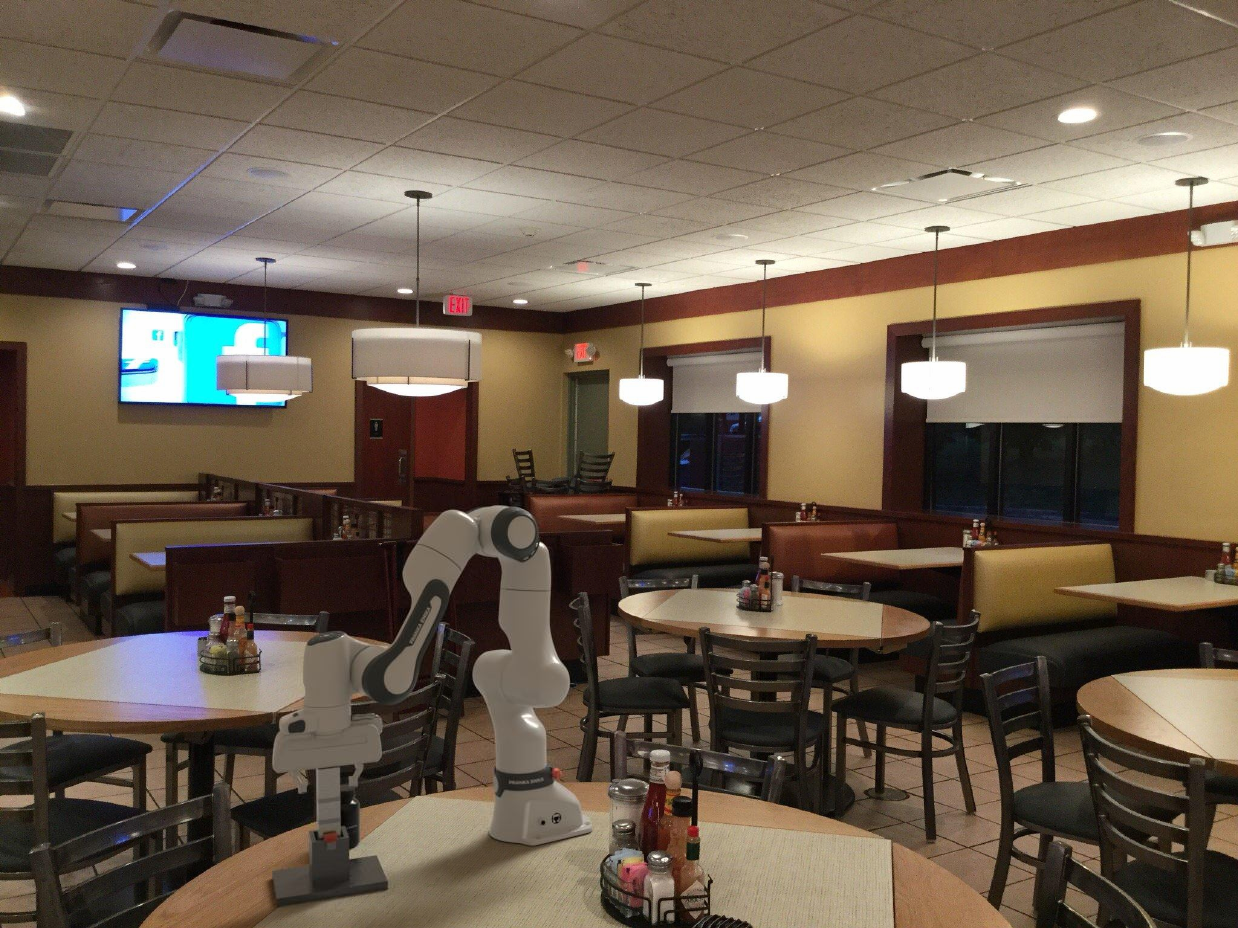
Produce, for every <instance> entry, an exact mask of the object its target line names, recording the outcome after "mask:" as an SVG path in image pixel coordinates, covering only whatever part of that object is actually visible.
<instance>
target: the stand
mask: <svg viewBox="0 0 1238 928" xmlns="http://www.w3.org/2000/svg"><path fill="white" fill-rule="evenodd" d="M308 861H309V862H308V865H301V866H296V867H288V868H283V869H282V868H281V869H276V870H272V872H271V874H272V884H273V891H274V898H275V907H277V908H278V907H285V906H291V905H297V904H303V903H311V902H316V901H321V900H322V901H323V900H328V899H334V898H341V897H347V896H352V895H359V894H364V893H370V892H372V893H373V892H377V891H383V890H388V889H389V887H388V886H389V881H388V879H387V876H386V873H385V871H384V869H383V867H382V864H381V863H380V860H379V858H378V855H377V854H375V855H369V856H368V855H367V856H362V857H355V858H350V848H349V836H348V833H347V831H346V828H345V826H341V837H339V838H337V833H330V834H324V840H318V841H317V829H313V830H308Z"/></svg>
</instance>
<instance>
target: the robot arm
mask: <svg viewBox="0 0 1238 928" xmlns="http://www.w3.org/2000/svg"><path fill="white" fill-rule="evenodd" d="M539 533H540V532H539V527H538V524H537V521H536V519H535V517H534V516H533V515H532V514H531V513H530V512H529V511H527V510H525V509H523V508H521V507H518V506H507V505H492V506H479V507H478V506H477V507H475V508H472V509H470V510H468V511H466V512H464V511H461V510H458V509H449V510H446V511H443V512H441V513H440V515H438V516H437V518H435V520H434V521H433V522H432V523H431V524H430V525H429V527H428V528H427V529H426V530H425V531H424V532H423V534H422V535H421V537H420V538H419V539H418V540H417V541H418V542H417V543H416V544H415V546H414V548H413V549H412V550H411V552H410V553H409V555H408V557H407V559H406V561H405V564H404V565H403V570H402V579H403V582H404V585H405V588H406V590H407V591H408V592H409V594H410V597H411V605H410V609H409V612H408V614H407V615H406V618H405V620H404V621H403V624H402V625H401V627H400V629H399V632H398V634H397V635H396V637H395V638H394V641H393V642H392V643H391V644H390V646H388V647H386V648H384V647H382V646H379V645H376V644H371V643H368V642H364V641H361V640H359V639H356V638H354V637H351V636H350V635H348V634H347V633H346V632H344V631H341V630H333V631H325V632H322V633H319V634H316V635H315V636H314V635H313V637H311V638H310V639H309V640H308V641H307V642H306V645H305V648H304V655H303V662H302V663H303V665H302V682H303V686H304V689H305V690H304V691H305V692H304V698H303V700H302V701H303V702H302V703H303V705H302V708H301V709H298V710H295V711H293V712H291V713H288V714H286V715H283V716H281V718H279V721H278V727H279V731H278V732H277V734H276V736H275V738H274V742H273V749H272V759H271V760H272V761H271V762H272V769H273V770H274V771H275V772H276V773H277V774H283V773H290V772H291V776H292V779H294V782H295V783H296V784H297V788H298V794H300V795H303V794H307V793H308V790H307V788H308V783H307V781H302V780H301V778H300V776H301V771H307V770H308V771H309V770H316V769H318V768H327V767H335V766H339V767H341V766H342V767H343V766H349V765H350V766H351V765H354V767H355V771H354V773H353V775H351V776H348V785H349V786H350V787H355V788H358V786H359V785H358V783H359V781H358V779H359V778H360V776H361V774H362V772H363V771H364V764H368V763H377V762H379V761H380V759H381V758H382V756H383V752H382V742H381V736H380V735H381V733H383V719H382V717H380V716H379V715H378V714H375V713H373V712H370V713H365V714H359V713H358V714H352V696H353V695H354V694H361V695H363V696H366V697H368V698H369V699H371V700H373V701H375V703H378V704H380V705H383V706H384V705H385V706H392V705H393V706H394V705H396V704H399V703H401V702H403V701H404V700H405V699H407V698H408V697H409V696H410V694H412V692H413V691H414V688H415V687H416V684H417V680H418V676H419V671H420V667H421V663H422V660H423V657H424V656H425V653H426V651H427V649H428V647H429V645H430V643H431V642H432V638H433V637H434V635H435V633H436V631H437V629H438V627H439V625H440V623H441V621H442V620H443V619H442V618H443V617H444V615H445V613H446V610H447V607H448V604H449V601H450V596H451V593H452V591H453V589H454V586H455V584H456V583H457V581H458V579H459V577H460V576H461V574H462V572H463V571H464V569H465V567H466V566H467V564H468V562H469V560H470V559H472V557H473V556H475V555H476V556H484V557H490V558H497V559H498V561H499V564H500V566H501V580H500V591H499V606H498V624H499V627H500V629H501V630H502V631H503V632H504V634H505V635H506V637H507V639H508V642H509V646H510V649H511V650H509V649H495V650H490V651H489V650H488V651H485V652H484V653H482V654H481V655H479V656H478V658H477V659H476V660H475V663H474V665H473V669H472V681H473V684H474V686H475V687H476V689H477V690H478V691H479V693H480V694H481V696H482V697H483V700H484V702H485V703H486V706H487V709H488V712H489V715H490V718H491V722H492V726H493V731H494V743H495V766H494V768H493V792H494V806H493V813H492V819H491V824H490V827H489V831H488V834H489V836H490V837H492V838H493V839H495V840H498V841H502V842H508V843H515V844H517V843H518V844H523V845H527V846H537V845H542V844H543V845H544V844H546V843H550V842H551V843H552V842H556V841H559V840H564V839H567V838H572V837H575V836H580V835H584V834H589V833H590V832H592V831H593V822H592V820H591V819H590V817H588V816H587V815H586V814H585V813H583V812H582V806H581V803H580V801H579V799H578V798H577V796H576V795H575V794H574V793H573V792H572V791H570V790H569V789H568V788H566V787H565V786H564V785H562V784H561V783H559V782H557V781H556V780H560V779H562V777H563V772H562V771H561V770H560V769H559V768H557V767H554V766H553V765H551V764H549V763H548V762H547V731H546V728H545V726H544V725H543V723H542V722H541V721H540V720H539V718H538V717H537V715H536V713H535V711H534V708H535V709H537V708H538V709H539V708H540V709H543V708H544V709H546V708H553V707H556V706H559V705H560V704H561V703H563V701H564V700H565V699H566V697H567V695H568V693H569V690H570V684H571V680H570V674H569V671H568V669H567V667H566V666H565V664H564V663H563V662H562V661H561V660H560V658H559V656H558V654H557V651H556V648H555V645H554V641H553V638H552V633H551V626H550V624H551V623H550V619H551V618H550V616H551V614H550V612H551V593H552V592H551V587H552V570H551V559H550V553H549V549H548V548H547V546H546V545H545V544H544V543H543V542H541V537H540V535H539Z"/></svg>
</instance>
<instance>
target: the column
mask: <svg viewBox="0 0 1238 928" xmlns="http://www.w3.org/2000/svg"><path fill="white" fill-rule="evenodd" d="M315 777H316V780H315V783H316V785H315V787H316V792H315V793H316V794H315V798H316V816H315V817H316V830H317V841H318V840H324V834H330V833H337V838H339V837H341V823H340V822H341V817H340V801H341V797H340V785H341V766H335V767H327V768H318V769H315Z"/></svg>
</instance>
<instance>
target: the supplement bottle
mask: <svg viewBox="0 0 1238 928" xmlns="http://www.w3.org/2000/svg"><path fill="white" fill-rule="evenodd" d="M340 797H341V801H340V817H341V822H340V823H341V826H345V828H346V831H347V833H348V836H349V849H352V848H355V847H356V846H358V844H360V838H361V835H360V834H361V828H360V827H361V822H360V821H361V806H360V805H361V803H360V801H359V800H358V799H357V798H356V787H350V786H349V784H342V785H341V784H340Z"/></svg>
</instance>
